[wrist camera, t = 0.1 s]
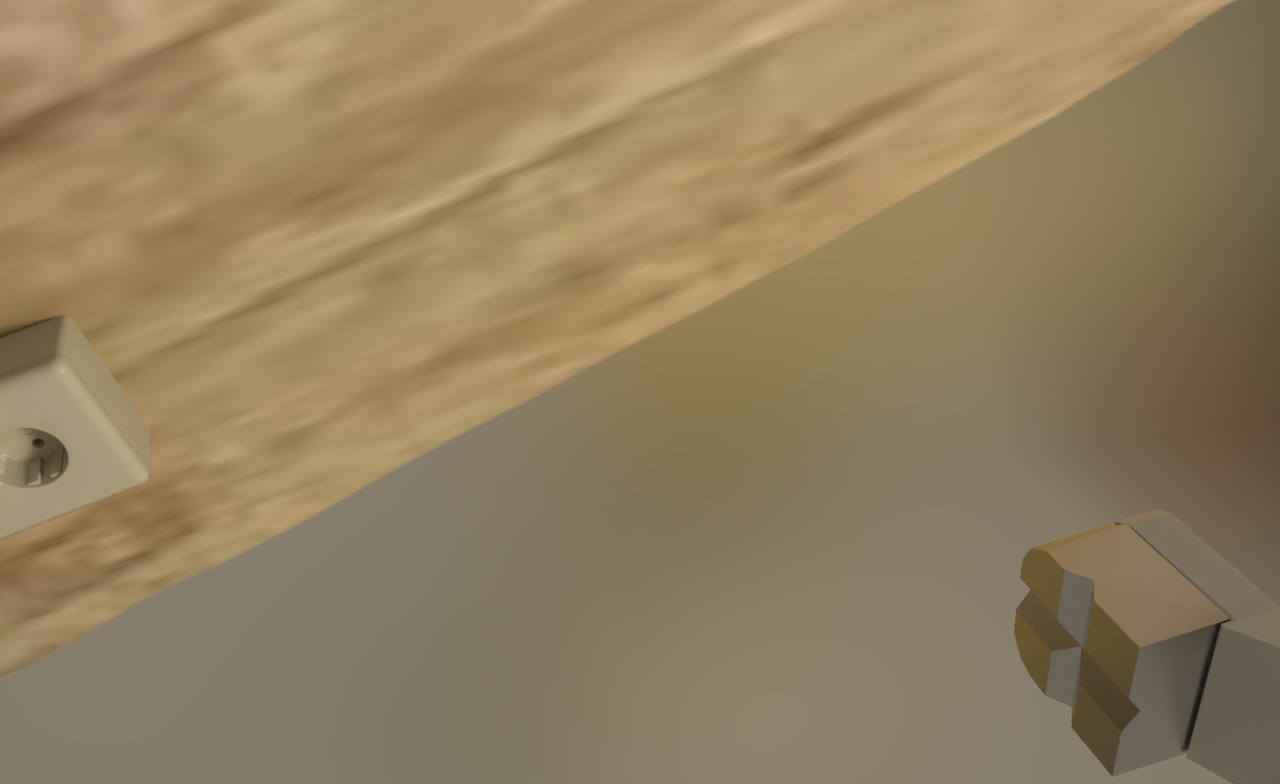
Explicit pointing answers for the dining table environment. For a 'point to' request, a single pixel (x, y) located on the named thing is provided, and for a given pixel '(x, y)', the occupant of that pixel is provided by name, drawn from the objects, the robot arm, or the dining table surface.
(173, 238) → the dining table surface
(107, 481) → the electrical outlet
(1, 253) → the dining table surface
